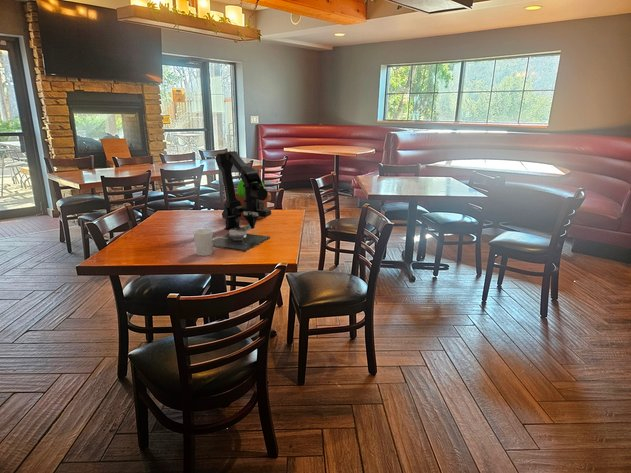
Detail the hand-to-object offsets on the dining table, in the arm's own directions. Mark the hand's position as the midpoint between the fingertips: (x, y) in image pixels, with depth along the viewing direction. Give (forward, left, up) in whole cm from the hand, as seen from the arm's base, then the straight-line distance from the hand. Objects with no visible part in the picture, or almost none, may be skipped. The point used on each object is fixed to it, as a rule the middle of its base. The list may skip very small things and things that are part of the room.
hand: (252, 228), depth 201 cm
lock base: (-2, -9, -4) cm, 10 cm away
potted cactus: (-23, +36, -5) cm, 43 cm away
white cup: (-6, -29, -5) cm, 30 cm away
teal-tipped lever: (-2, -4, -2) cm, 5 cm away
